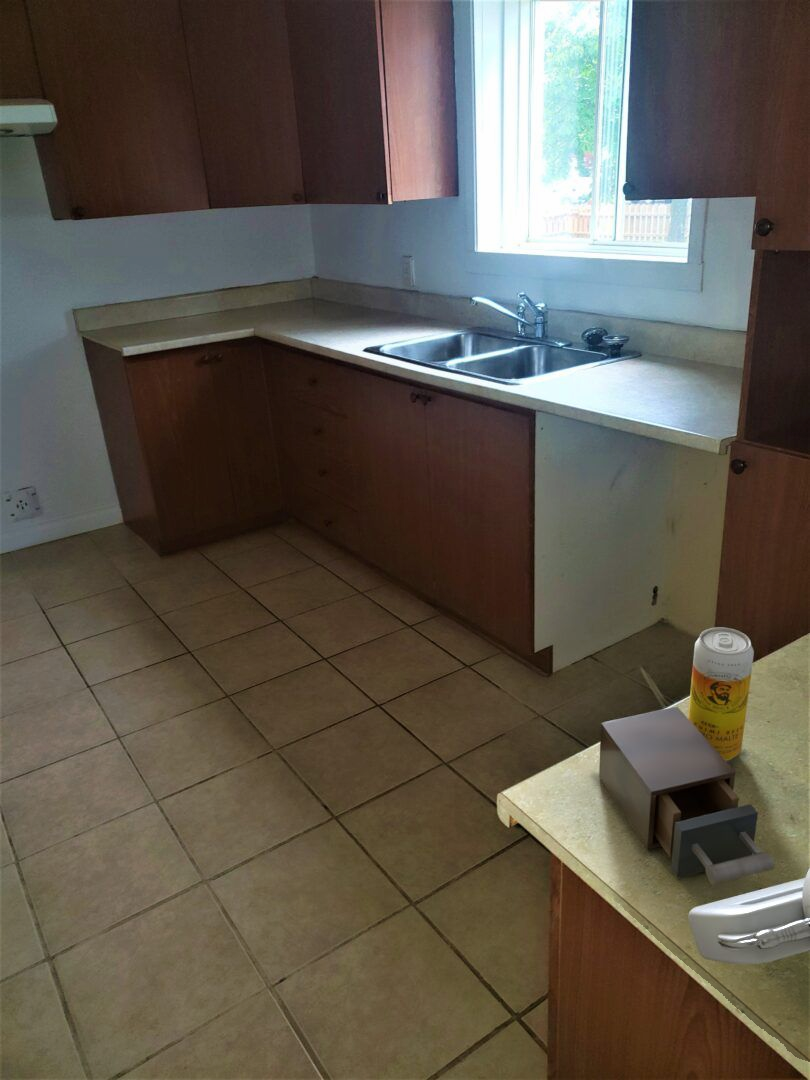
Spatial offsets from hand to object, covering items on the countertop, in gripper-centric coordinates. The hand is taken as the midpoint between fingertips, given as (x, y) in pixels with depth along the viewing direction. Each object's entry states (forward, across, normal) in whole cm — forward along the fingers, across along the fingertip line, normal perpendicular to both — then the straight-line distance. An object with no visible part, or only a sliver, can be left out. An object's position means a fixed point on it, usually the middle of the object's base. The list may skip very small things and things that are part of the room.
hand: (771, 899), depth 70 cm
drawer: (+11, 0, +4) cm, 12 cm away
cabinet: (+17, 0, +9) cm, 19 cm away
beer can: (+21, +10, +13) cm, 27 cm away
